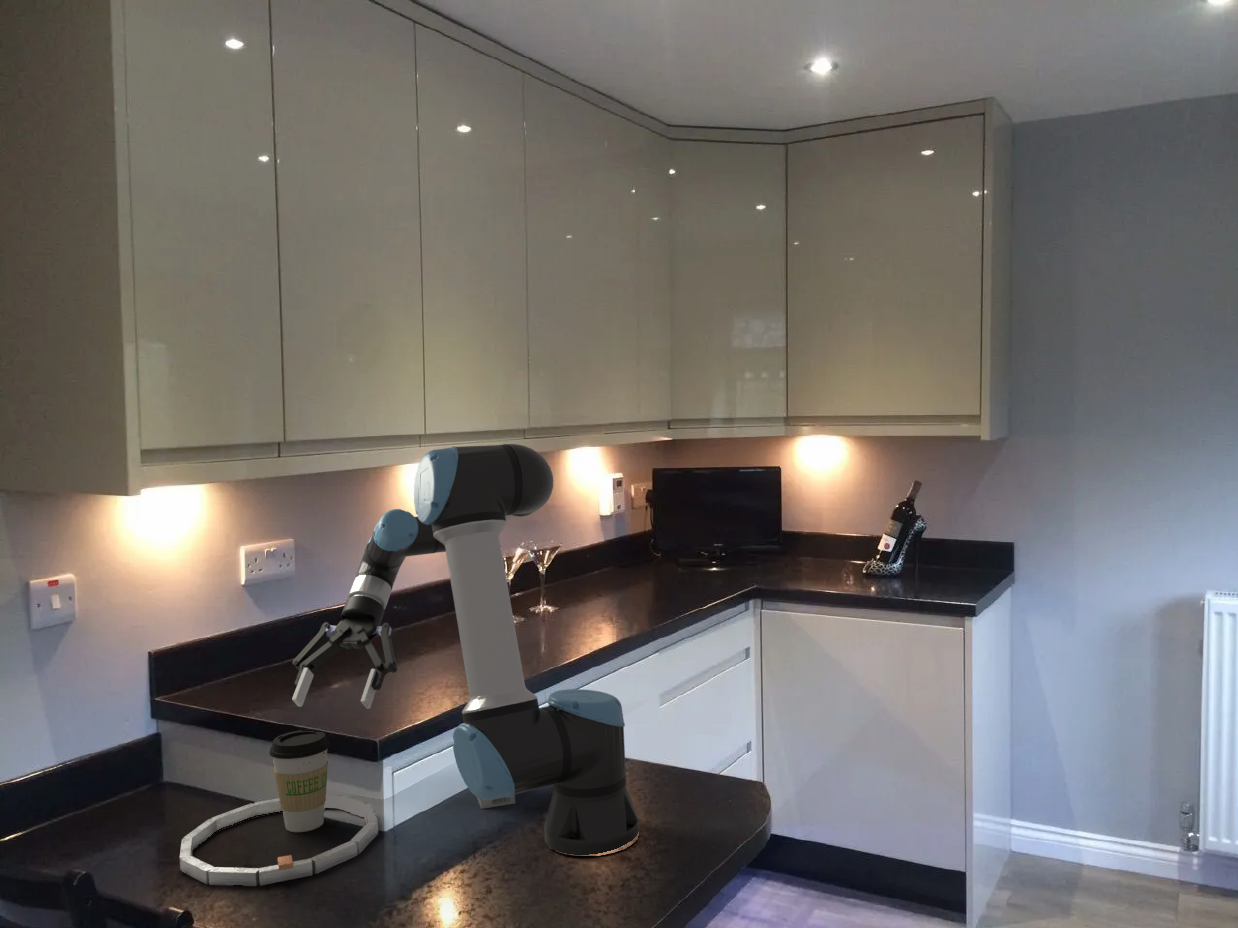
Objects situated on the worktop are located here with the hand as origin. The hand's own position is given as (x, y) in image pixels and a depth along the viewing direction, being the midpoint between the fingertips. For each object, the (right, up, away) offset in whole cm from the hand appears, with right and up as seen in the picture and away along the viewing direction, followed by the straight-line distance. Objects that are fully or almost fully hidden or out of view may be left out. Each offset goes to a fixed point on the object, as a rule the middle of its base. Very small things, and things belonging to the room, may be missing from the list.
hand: (330, 704), depth 179 cm
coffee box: (+29, -17, -1) cm, 34 cm away
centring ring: (-3, -19, -16) cm, 25 cm away
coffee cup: (-2, -18, -9) cm, 21 cm away
